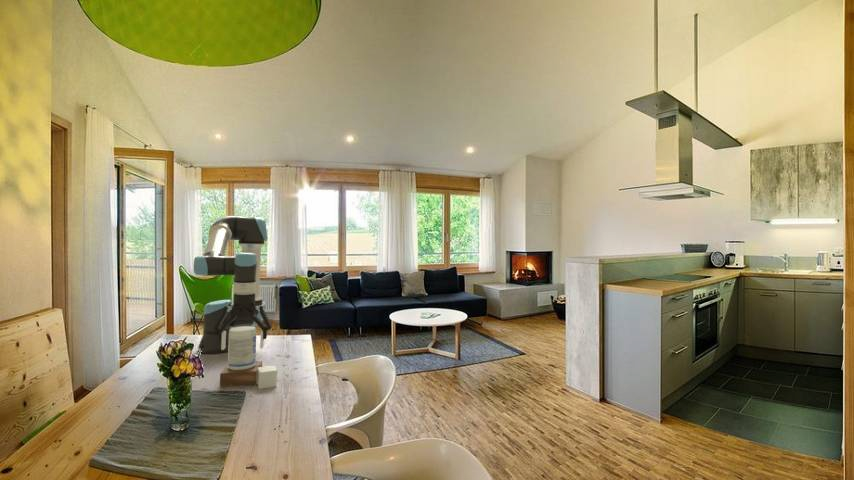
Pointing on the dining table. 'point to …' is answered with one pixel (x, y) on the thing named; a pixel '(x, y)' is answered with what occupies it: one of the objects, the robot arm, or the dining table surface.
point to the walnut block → (239, 376)
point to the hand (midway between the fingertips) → (242, 348)
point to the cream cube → (267, 376)
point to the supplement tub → (242, 348)
